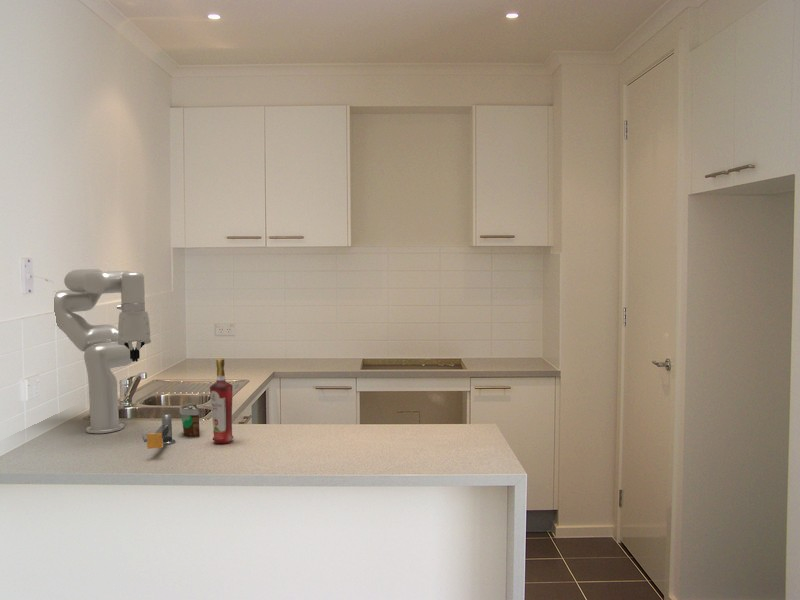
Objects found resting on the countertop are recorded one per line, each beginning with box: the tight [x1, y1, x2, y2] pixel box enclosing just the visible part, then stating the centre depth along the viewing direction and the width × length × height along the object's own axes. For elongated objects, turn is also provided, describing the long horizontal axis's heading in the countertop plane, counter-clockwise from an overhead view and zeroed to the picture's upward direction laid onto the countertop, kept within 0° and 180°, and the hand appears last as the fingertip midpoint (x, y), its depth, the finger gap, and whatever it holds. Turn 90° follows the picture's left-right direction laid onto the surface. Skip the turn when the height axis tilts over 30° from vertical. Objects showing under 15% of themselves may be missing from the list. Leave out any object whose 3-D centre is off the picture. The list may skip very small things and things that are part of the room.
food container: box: [179, 402, 201, 438], centre depth 244 cm, size 12×6×10 cm, turn 21°
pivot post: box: [161, 413, 176, 446], centre depth 233 cm, size 5×5×10 cm
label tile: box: [142, 432, 153, 443], centre depth 240 cm, size 8×6×1 cm
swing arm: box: [146, 424, 169, 449], centre depth 223 cm, size 16×4×4 cm, turn 7°
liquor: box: [209, 358, 235, 445], centre depth 232 cm, size 7×7×28 cm
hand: (134, 360), depth 241 cm, fingers closed
